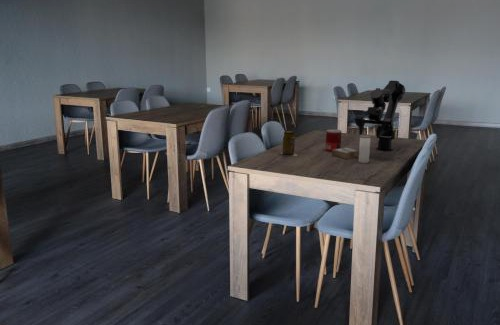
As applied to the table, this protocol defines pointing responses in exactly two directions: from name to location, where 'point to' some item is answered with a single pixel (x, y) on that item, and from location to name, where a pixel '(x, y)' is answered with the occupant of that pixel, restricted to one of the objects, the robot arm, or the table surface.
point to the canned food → (333, 139)
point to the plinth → (345, 153)
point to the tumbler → (364, 148)
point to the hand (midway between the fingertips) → (369, 135)
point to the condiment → (288, 144)
